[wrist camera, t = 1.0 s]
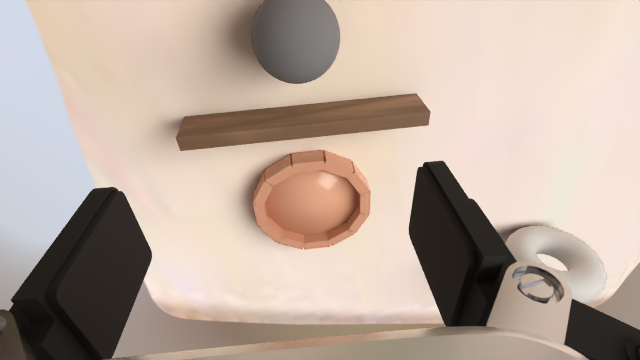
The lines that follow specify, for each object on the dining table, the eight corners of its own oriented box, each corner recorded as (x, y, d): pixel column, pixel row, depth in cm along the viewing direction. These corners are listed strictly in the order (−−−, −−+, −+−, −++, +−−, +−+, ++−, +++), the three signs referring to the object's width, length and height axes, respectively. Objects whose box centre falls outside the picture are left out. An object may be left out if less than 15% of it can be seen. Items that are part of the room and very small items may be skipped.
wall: (185, 116, 30) (175, 137, 27) (416, 93, 30) (430, 111, 28) (189, 129, 30) (180, 150, 28) (415, 106, 31) (428, 125, 28)
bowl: (245, 158, 33) (244, 169, 31) (367, 145, 33) (371, 155, 32) (265, 241, 40) (264, 254, 39) (365, 230, 40) (368, 242, 39)
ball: (246, -16, 24) (238, 2, 19) (332, -23, 24) (345, -7, 20) (260, 69, 28) (257, 102, 23) (335, 62, 28) (347, 93, 23)
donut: (484, 242, 44) (529, 315, 36) (491, 223, 42) (541, 296, 34) (560, 236, 44) (620, 306, 37) (571, 216, 42) (638, 286, 34)
